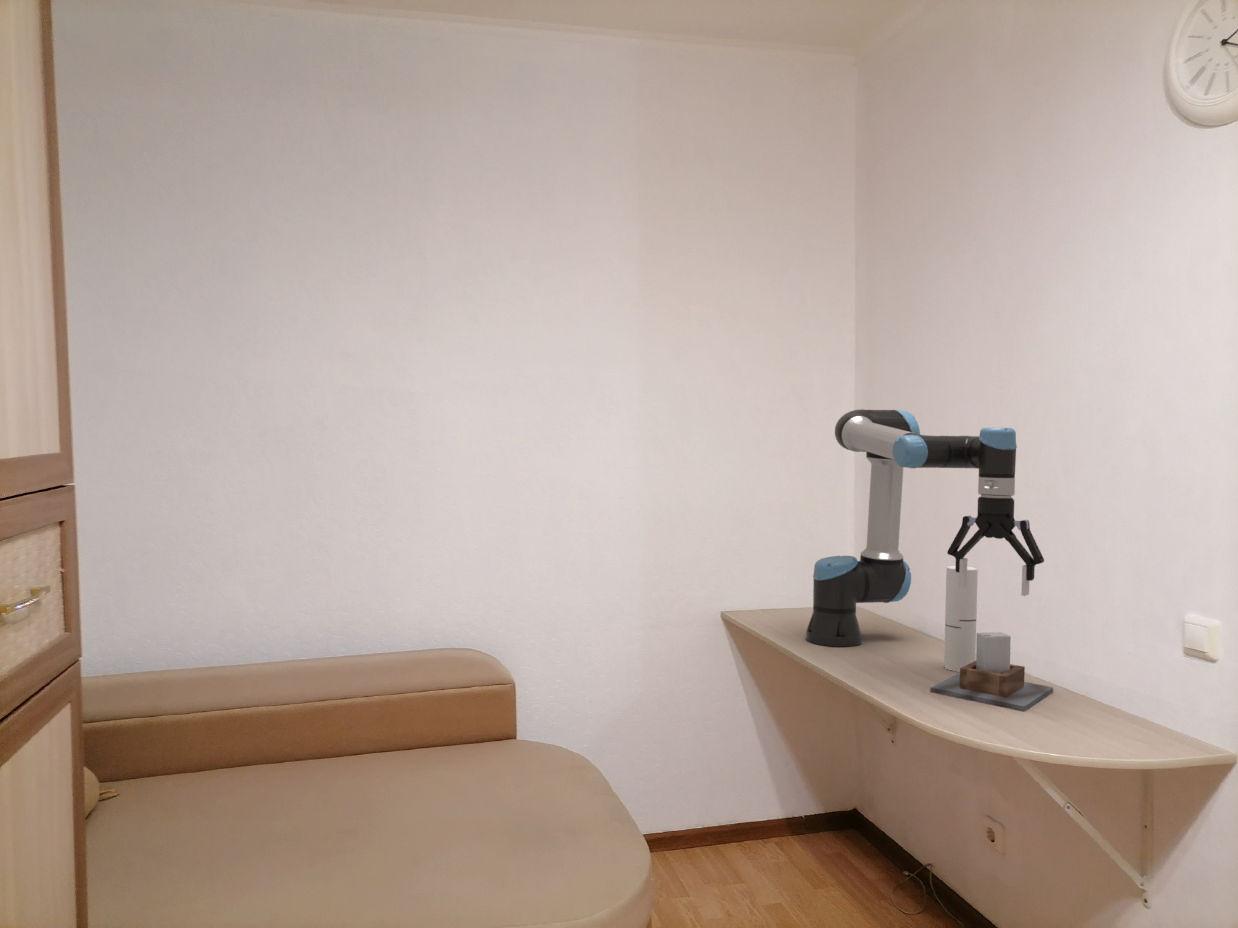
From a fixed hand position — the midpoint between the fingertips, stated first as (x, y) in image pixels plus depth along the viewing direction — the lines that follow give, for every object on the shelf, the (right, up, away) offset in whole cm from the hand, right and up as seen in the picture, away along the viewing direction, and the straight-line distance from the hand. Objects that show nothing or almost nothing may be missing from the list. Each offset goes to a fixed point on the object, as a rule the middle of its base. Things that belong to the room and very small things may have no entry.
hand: (993, 591), depth 197 cm
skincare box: (0, -22, 0) cm, 22 cm away
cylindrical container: (0, -22, +20) cm, 30 cm away
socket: (0, -23, 0) cm, 23 cm away
